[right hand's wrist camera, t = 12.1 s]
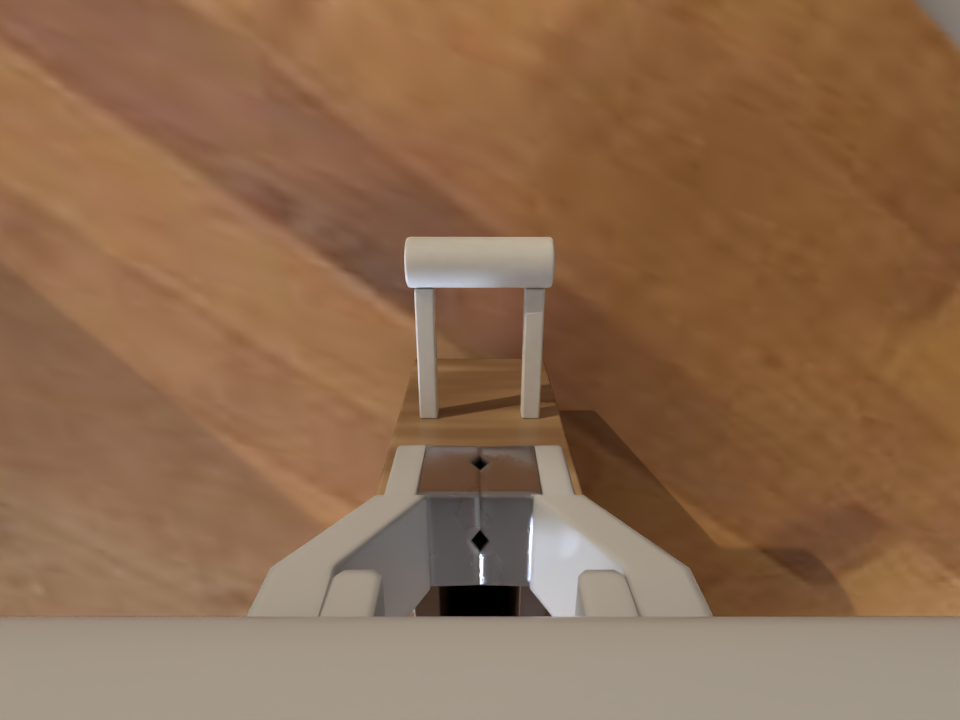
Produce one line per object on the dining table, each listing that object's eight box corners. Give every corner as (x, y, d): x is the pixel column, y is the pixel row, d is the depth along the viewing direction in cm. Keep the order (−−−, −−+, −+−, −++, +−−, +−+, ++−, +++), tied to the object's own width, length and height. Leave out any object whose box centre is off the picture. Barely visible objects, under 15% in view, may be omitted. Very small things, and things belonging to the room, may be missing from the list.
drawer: (408, 215, 21) (355, 270, 12) (550, 215, 21) (604, 270, 12) (429, 670, 30) (407, 899, 21) (529, 669, 30) (550, 899, 21)
